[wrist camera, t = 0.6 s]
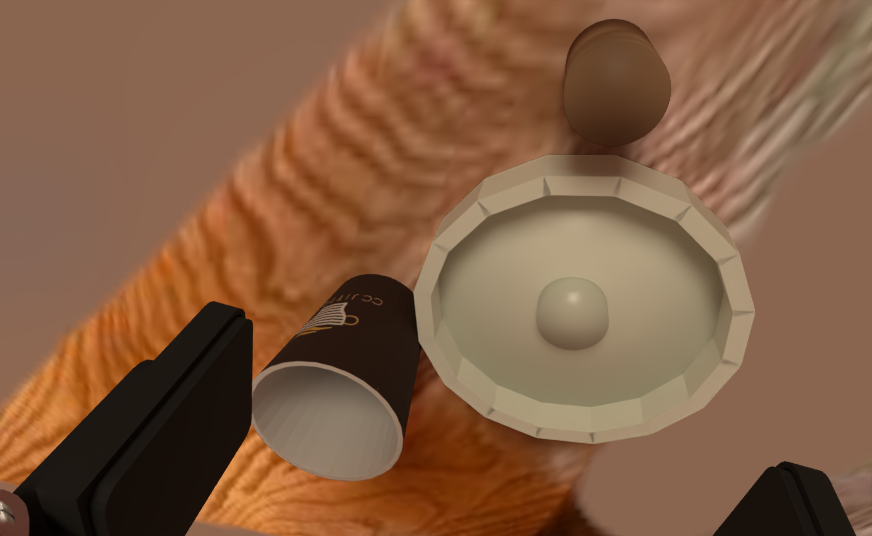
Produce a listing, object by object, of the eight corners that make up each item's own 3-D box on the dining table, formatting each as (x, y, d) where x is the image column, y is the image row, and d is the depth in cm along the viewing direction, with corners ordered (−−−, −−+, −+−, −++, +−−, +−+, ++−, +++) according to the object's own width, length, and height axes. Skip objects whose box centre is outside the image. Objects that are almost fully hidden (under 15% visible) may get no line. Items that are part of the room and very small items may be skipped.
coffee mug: (446, 271, 35) (406, 380, 27) (437, 374, 39) (400, 495, 31) (271, 241, 37) (181, 335, 28) (282, 344, 41) (207, 451, 33)
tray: (771, 155, 28) (790, 178, 25) (707, 420, 37) (716, 457, 34) (414, 154, 31) (400, 174, 29) (436, 394, 40) (427, 426, 38)
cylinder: (658, 16, 26) (678, 39, 21) (647, 105, 28) (663, 146, 23) (567, 21, 26) (565, 44, 21) (563, 107, 28) (561, 146, 23)
